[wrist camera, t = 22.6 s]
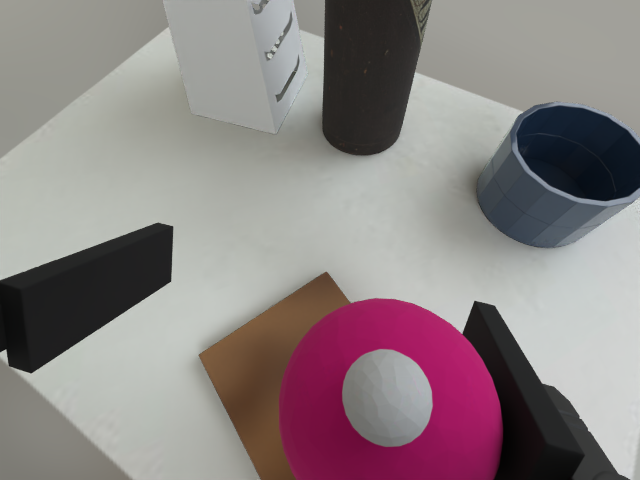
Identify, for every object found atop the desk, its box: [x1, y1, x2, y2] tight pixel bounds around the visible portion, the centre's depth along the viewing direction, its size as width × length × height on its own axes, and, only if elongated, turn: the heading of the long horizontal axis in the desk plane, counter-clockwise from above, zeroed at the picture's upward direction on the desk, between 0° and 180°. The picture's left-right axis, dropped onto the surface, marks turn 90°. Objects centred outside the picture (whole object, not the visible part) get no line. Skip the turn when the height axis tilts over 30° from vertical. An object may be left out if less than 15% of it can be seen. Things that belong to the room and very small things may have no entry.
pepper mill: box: [279, 298, 503, 480], centre depth 15 cm, size 7×7×20 cm
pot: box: [477, 102, 640, 248], centre depth 30 cm, size 11×11×7 cm
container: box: [322, 0, 432, 155], centre depth 29 cm, size 9×9×20 cm
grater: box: [163, 0, 308, 134], centre depth 31 cm, size 10×10×20 cm
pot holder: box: [199, 272, 351, 480], centre depth 26 cm, size 12×12×1 cm
